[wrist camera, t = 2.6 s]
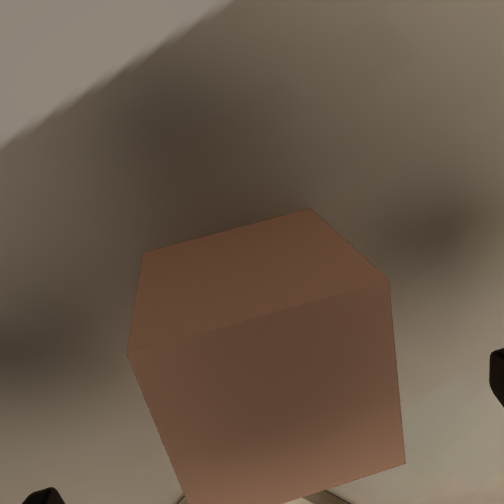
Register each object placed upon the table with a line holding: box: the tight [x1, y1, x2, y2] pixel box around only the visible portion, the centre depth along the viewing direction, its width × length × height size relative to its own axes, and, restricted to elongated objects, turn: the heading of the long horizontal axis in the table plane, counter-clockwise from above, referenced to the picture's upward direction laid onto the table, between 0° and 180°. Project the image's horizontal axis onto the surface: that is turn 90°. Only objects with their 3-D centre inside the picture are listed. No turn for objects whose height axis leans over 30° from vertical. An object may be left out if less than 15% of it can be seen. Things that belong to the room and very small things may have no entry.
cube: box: [127, 208, 406, 504], centre depth 11 cm, size 5×5×5 cm
